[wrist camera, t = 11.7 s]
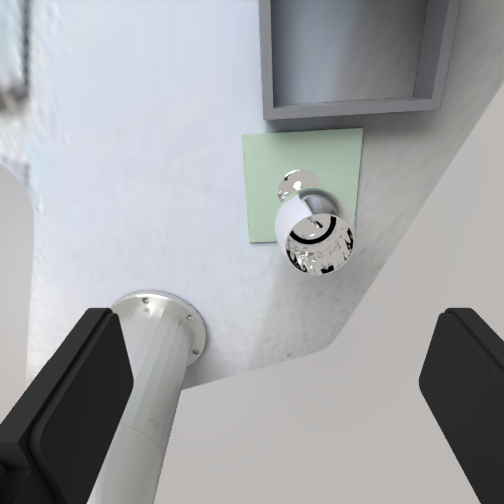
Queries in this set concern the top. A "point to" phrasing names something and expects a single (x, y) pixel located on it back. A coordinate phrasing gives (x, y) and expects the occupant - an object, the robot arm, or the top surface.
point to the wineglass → (312, 224)
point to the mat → (293, 158)
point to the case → (424, 98)
